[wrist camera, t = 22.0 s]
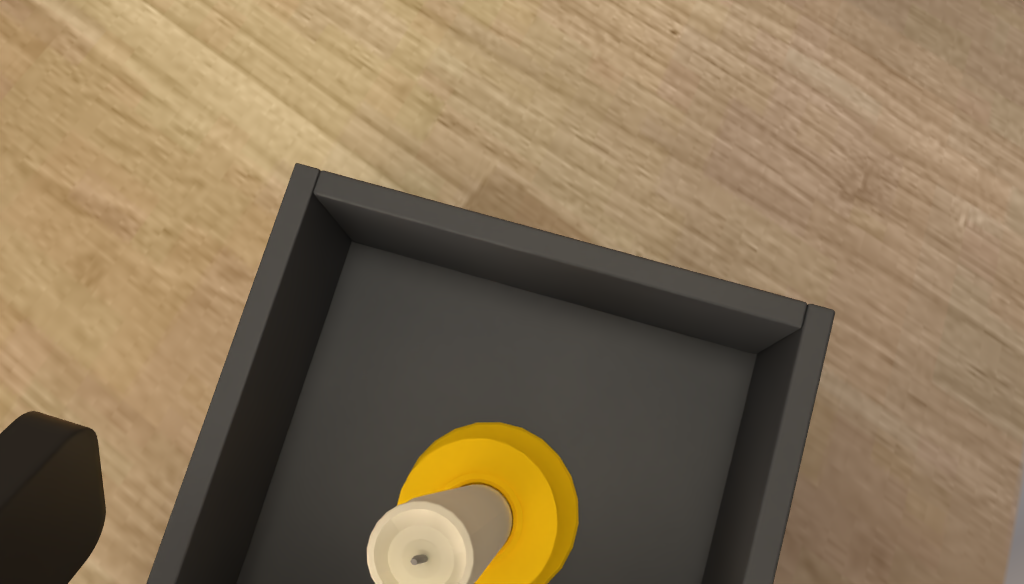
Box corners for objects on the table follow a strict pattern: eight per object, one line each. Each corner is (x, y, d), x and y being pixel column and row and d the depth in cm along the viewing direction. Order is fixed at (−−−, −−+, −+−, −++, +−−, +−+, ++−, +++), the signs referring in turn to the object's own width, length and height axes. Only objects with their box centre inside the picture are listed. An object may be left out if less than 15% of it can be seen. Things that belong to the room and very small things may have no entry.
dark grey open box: (778, 343, 28) (836, 310, 22) (662, 827, 26) (694, 928, 20) (343, 222, 29) (295, 161, 24) (190, 671, 27) (95, 723, 21)
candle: (539, 632, 26) (528, 856, 11) (374, 562, 26) (140, 679, 11) (604, 461, 27) (678, 442, 12) (442, 396, 27) (311, 297, 12)
